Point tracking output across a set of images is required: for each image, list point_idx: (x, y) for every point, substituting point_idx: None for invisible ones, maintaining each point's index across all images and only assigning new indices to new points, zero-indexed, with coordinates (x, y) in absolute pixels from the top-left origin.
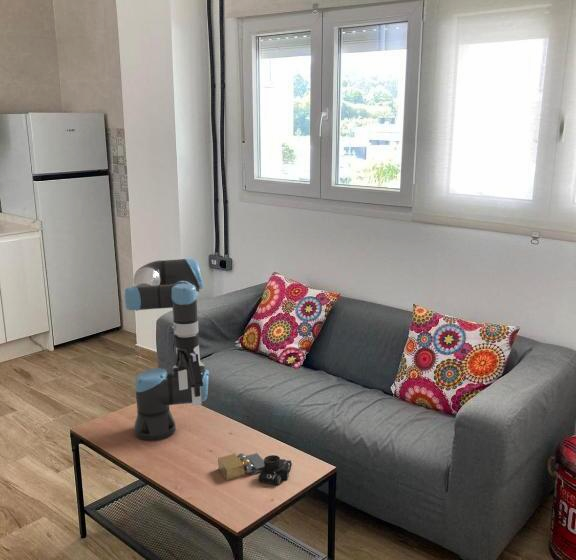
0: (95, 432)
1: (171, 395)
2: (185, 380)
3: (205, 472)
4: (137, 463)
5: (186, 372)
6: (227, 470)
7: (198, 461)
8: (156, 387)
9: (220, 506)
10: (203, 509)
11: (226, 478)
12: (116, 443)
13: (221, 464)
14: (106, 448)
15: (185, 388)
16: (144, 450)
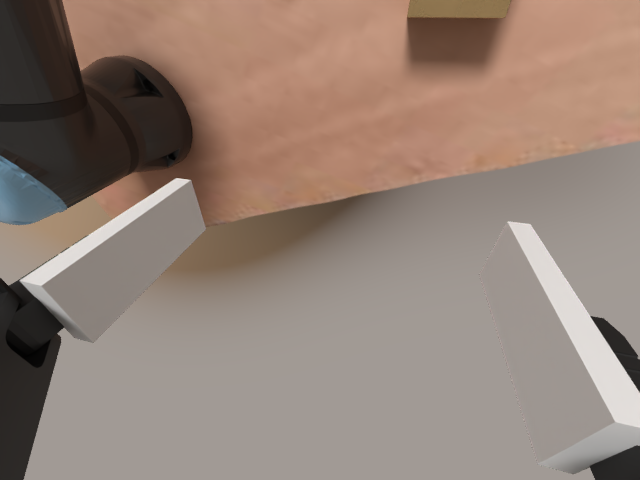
0: None
1: (61, 106)
2: (147, 231)
3: (399, 71)
4: (275, 199)
5: (70, 269)
6: (504, 14)
7: (331, 66)
8: (39, 171)
9: (595, 107)
10: (558, 154)
11: (486, 18)
12: None
13: (444, 17)
14: None
15: (193, 199)
16: (228, 169)
